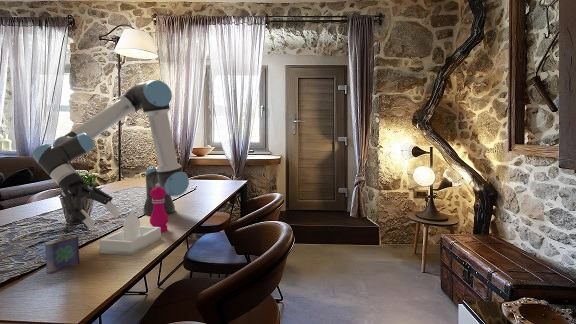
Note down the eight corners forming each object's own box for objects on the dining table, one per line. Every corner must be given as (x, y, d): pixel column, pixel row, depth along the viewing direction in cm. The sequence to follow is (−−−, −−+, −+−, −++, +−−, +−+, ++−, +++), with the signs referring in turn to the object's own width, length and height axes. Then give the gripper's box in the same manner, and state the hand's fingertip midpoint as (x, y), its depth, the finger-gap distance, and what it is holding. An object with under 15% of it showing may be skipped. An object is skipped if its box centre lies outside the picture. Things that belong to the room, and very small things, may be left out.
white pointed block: (121, 208, 123) (138, 207, 126) (123, 240, 124) (139, 238, 127) (123, 212, 118) (140, 210, 121) (124, 245, 119) (141, 242, 122)
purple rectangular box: (49, 274, 98) (46, 238, 97) (44, 272, 100) (41, 237, 99) (81, 263, 106) (79, 230, 106) (76, 262, 108) (74, 229, 107)
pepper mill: (162, 234, 137) (160, 185, 135) (146, 232, 138) (144, 184, 136) (172, 228, 144) (170, 182, 142) (156, 227, 145) (155, 181, 143)
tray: (133, 236, 133) (132, 225, 133) (160, 238, 131) (160, 227, 131) (100, 253, 115) (99, 240, 115) (131, 255, 113) (131, 242, 113)
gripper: (87, 180, 138) (121, 218, 137) (31, 192, 114) (73, 237, 113) (98, 168, 137) (133, 206, 136) (44, 176, 113) (86, 223, 111)
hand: (106, 220), depth 124 cm, fingers open, 13 cm apart
